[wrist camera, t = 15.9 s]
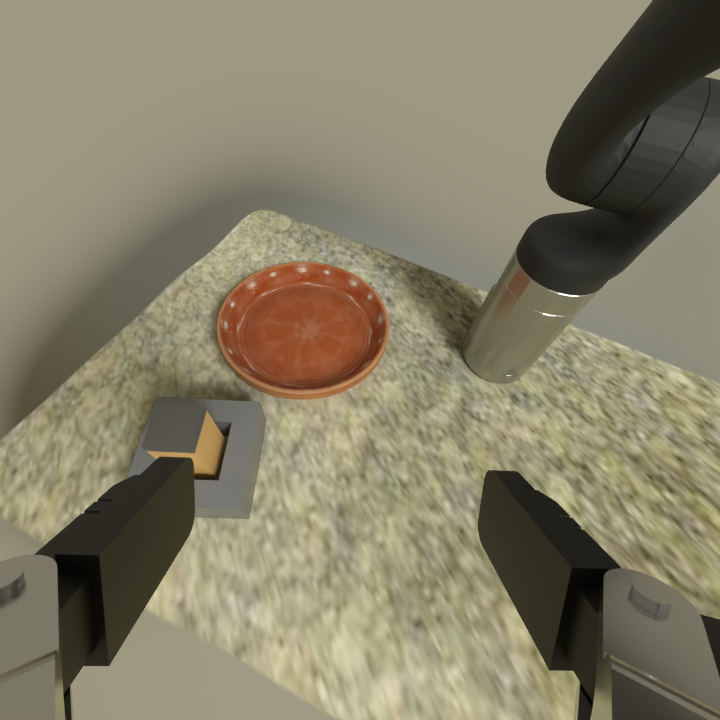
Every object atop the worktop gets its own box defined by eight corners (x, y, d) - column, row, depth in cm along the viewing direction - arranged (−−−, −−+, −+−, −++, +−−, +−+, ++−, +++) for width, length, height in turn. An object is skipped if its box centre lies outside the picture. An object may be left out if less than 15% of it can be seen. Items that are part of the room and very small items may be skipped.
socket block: (172, 416, 42) (156, 396, 38) (266, 420, 43) (260, 401, 39) (139, 515, 36) (116, 505, 32) (249, 518, 37) (240, 509, 33)
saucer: (284, 259, 59) (282, 240, 56) (410, 314, 55) (415, 297, 52) (185, 358, 47) (176, 341, 44) (336, 438, 43) (337, 426, 40)
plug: (192, 443, 40) (157, 402, 31) (228, 444, 40) (203, 405, 32) (181, 479, 38) (141, 446, 29) (220, 481, 38) (191, 449, 29)
